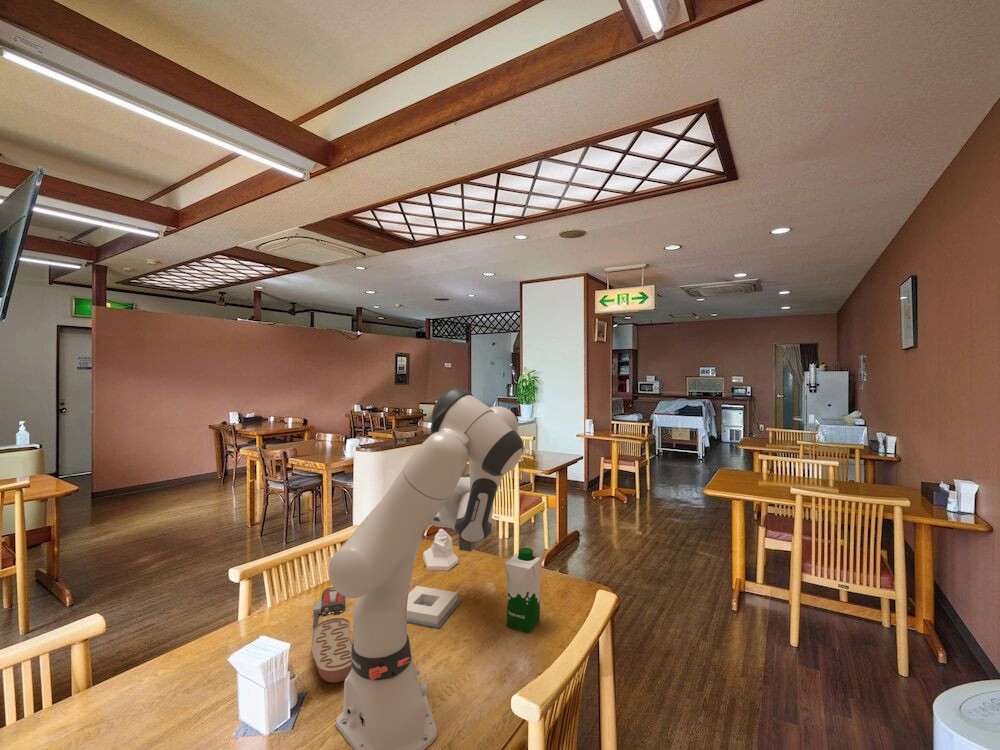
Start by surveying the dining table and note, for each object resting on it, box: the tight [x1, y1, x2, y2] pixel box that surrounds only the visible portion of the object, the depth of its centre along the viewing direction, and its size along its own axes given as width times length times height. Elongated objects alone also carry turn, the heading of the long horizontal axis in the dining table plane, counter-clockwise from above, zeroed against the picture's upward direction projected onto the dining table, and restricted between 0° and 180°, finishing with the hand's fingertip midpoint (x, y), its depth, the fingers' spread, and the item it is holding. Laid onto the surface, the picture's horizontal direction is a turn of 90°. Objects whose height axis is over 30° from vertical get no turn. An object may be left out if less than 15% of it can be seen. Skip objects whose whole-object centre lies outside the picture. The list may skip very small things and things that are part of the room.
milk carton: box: [504, 547, 541, 634], centre depth 129 cm, size 9×9×20 cm
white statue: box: [422, 528, 459, 572], centre depth 169 cm, size 12×15×14 cm
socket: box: [407, 585, 463, 630], centre depth 137 cm, size 16×16×3 cm
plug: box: [458, 535, 476, 553], centre depth 148 cm, size 4×4×10 cm
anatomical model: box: [310, 617, 354, 684], centre depth 114 cm, size 23×10×5 cm, turn 25°
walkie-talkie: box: [312, 586, 346, 629], centre depth 137 cm, size 9×4×20 cm
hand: (467, 531), depth 148 cm, fingers closed on plug, 4 cm apart
